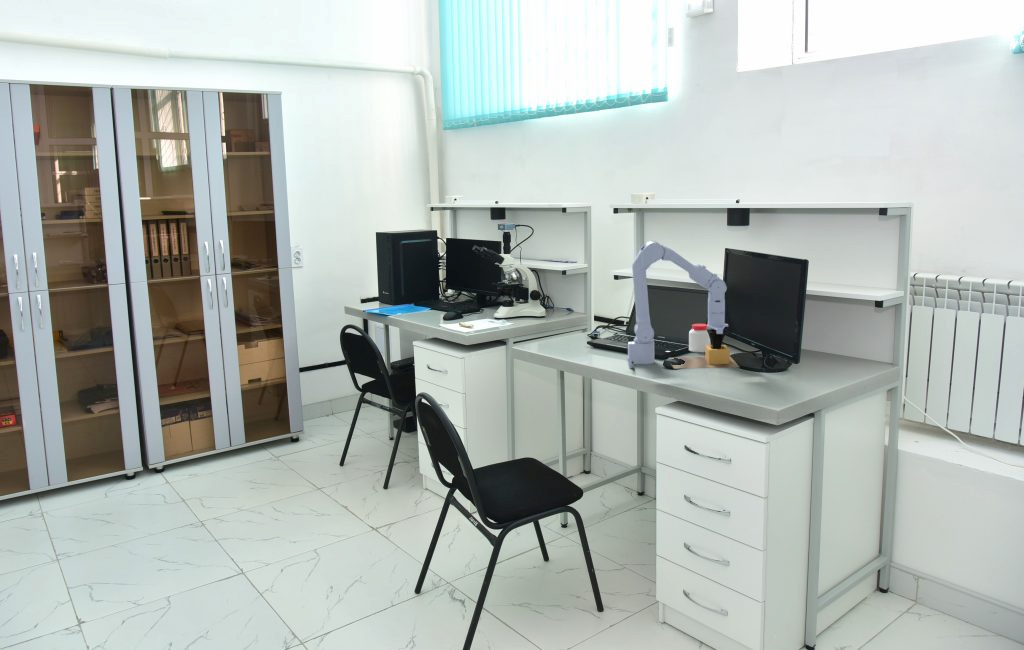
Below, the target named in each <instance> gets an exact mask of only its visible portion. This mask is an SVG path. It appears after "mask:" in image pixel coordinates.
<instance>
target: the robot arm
mask: <svg viewBox="0 0 1024 650" xmlns="http://www.w3.org/2000/svg"><path fill="white" fill-rule="evenodd" d="M659 260H662V261H667V262H668V261H669V262H671V263H673V264H675V265H676V266H678V267H679V268H681V269H682V270H684V271H685V272H687V273H688V277H689V279H690V280H692V281H693V282H695V283H696V284H697V285H699V286H700V287H702V288H703V289H706V290H707V291H708V296H707V297H708V298H707V324H706V325H707V332H708V334H709V337H710V345H713V349H721V345H723V340H724V338H725V337H726V334H727V333H726V331H724V329H725V327H727V328H728V327H729V324H728V323H725V321H726V320H725V319H726V318H725V317H726V314H725V313H726V300H725V297H726V295H725V293H726V292H727V289H728V287H727V284H726V282H725V281H724V280H723V279H722V278H720V277H719V276H718V274H717V273H713V272H711V271H710V270H708V269H707V266H706V265H704V264H702V265H701V264H700V263H699V264H693V263H691V262H690V261H688V260H687V259H686V258H684V257H683V256H682V255H680V254H679V253H677V252H676V251H675V250H673V249H672V248H669V247H667V246H665V245H664V244H660V243H659V242H658V241H656V240H649V241H647V242H646V243H645V244H644V245H642V246H641V247H640V249H639V251H638V254H637V255H636V257H635V259H634V260H633V262H632V266H631V267H632V280H633V292H634V293H633V294H634V304H635V306H634V307H635V324H634V327H633V331H634V334H635V337H634V338H633V341H628V342H627V360H626V362H627V365H628V368H629V369H635V365H651V364H654V363H655V339H654V336H655V331H654V328H653V327H652V325H651V317H650V307H649V295H648V293H649V291H648V282H647V281H648V279H647V270H648V269H649V268H650V266H651V265H653V264H654V263H656V262H658V261H659ZM708 328H709V329H708Z"/></svg>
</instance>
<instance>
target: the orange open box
mask: <svg viewBox="0 0 1024 650" xmlns="http://www.w3.org/2000/svg"><path fill="white" fill-rule="evenodd" d="M730 351H731V350H730V348H729V346H727V345H726V344H722V345H721V349H713V345H711V344H710V345H706V350H705V352H704V353H705V356H704V357H705V359H706V361H707V362H708V364H729V362H730V357H731V356H730V354H731V353H730Z"/></svg>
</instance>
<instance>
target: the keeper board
mask: <svg viewBox="0 0 1024 650" xmlns="http://www.w3.org/2000/svg"><path fill="white" fill-rule="evenodd" d="M674 358H675V357H668V360H669V359H674ZM677 358H678V359H682V360H684V361H685V363H684V364H681V365H672V364H671V366H672V368H673V369H676V370H677V369H679V370H680V369H685V370H686V369H724V368H725V369H726V368H728V369H729V368H735V369H736V368H740V366H739V365H738V363H736V361H735V360H734V359H733V358H732V357H731V356H730V362H729V364H708V362H707V361H706V359H705V356H697V357H696V356H693V357H690V356H688V357H687V356H686V357H685V356H684V357H677Z"/></svg>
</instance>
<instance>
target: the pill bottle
mask: <svg viewBox="0 0 1024 650" xmlns="http://www.w3.org/2000/svg"><path fill="white" fill-rule="evenodd" d="M707 329H708V327H707V324H706V323H694V324H691V329H690V330H689V332H688V351H690V352H694V353H705V350H706V345H711V342H710V337H709V334H708V332H707Z"/></svg>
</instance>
